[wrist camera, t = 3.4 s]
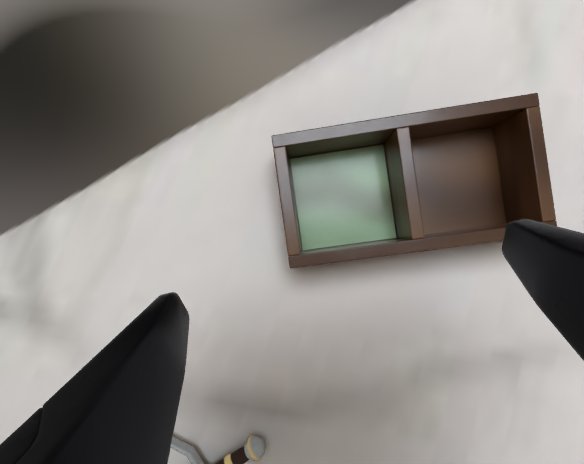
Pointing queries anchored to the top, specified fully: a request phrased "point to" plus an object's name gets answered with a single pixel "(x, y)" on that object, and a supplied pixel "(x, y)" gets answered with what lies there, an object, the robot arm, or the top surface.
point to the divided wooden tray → (413, 181)
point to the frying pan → (233, 460)
